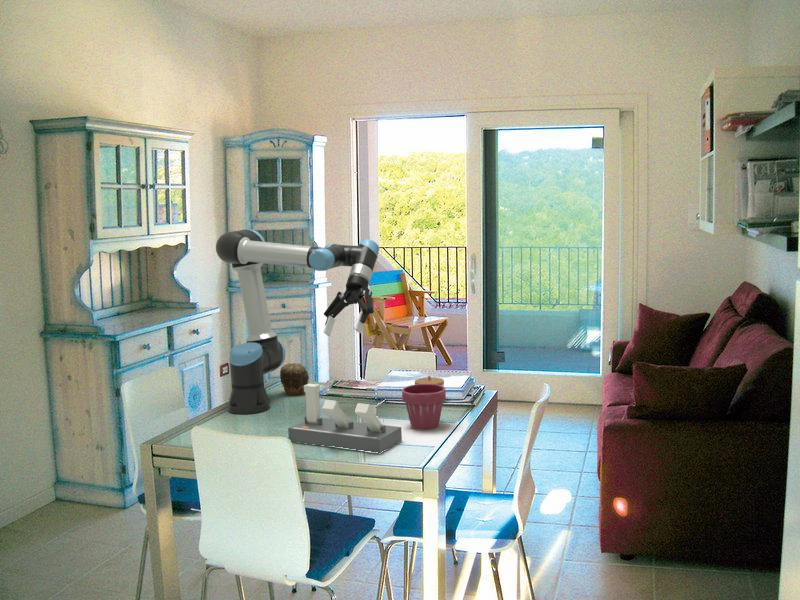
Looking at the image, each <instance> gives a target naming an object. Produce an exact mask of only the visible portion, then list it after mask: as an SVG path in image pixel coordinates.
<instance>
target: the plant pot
mask: <svg viewBox="0 0 800 600" xmlns="http://www.w3.org/2000/svg"><path fill="white" fill-rule="evenodd" d="M446 396H447V395H446V388H445V386H444V387H443V386H441V385H437V384H416V385H415V384H411V385H407V386H405V387H403V388H402V389H401V397H402V402H403V403H404V404H405V408H406V411H407V415H408V418H409V421H410V425H411V426H410V427H411V428H412V429H414V430H418V429H419V430H420V431H423V430H425V431H428V430H433V429H437V428H438V427H439V426H440V421H441V414H442V410H443V406H444V405H443V403H444V401H446V398H447V397H446Z"/></svg>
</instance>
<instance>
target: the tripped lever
mask: <svg viewBox="0 0 800 600" xmlns="http://www.w3.org/2000/svg"><path fill="white" fill-rule="evenodd" d="M320 387H321V385H320V383H319V384H317V383H308V384H307V385H304V392H305V408H306V409H305V411H306V416H307V422H308V423H317V424H318V419H319V418H321V412H320V411H321V410H320V408H321V407H320V391H321V388H320Z"/></svg>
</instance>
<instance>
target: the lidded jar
mask: <svg viewBox="0 0 800 600" xmlns="http://www.w3.org/2000/svg"><path fill="white" fill-rule="evenodd" d="M416 384H437V385H441V386H443V387H445V385H444V384H445V380H444V379H443V378H441V377H433V376H431V375H428V376H427V377H426V376H425V377H419V378H418V379H415V380H414V385H416Z"/></svg>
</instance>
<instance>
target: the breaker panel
mask: <svg viewBox="0 0 800 600" xmlns="http://www.w3.org/2000/svg"><path fill="white" fill-rule="evenodd" d="M287 431H288V433H287V434H288V440H289V439H290V440H291V441H292V442H291V443H293V442H300V443H307V444H306V445H308V444H315V445H324V446H335V447H343V448H349V449H356V450H364V451H371V452H378V453H381V452H382V451H384V450H386V449H388V448H390V447H391V446H393V445H394V446H396V445H398V444H399V443H401V442H402V441H403V436H402V433H403V432H402V426H395V425H389V424H388V425H387V424H382V431H372V430H369V428H368V427H367V426H366V424H365V423H364V422H361V421H351V420H350V422H349V427H339V426H337V424H336V423H335V422H334V420H333V419H332V418H327V417H320V418H319V419H318V424H317V423H308V422H307V415H306V416H304V420H302V421H301V422H298V423H296V424H294V425H292V426H290V427H287ZM400 441H401V442H400ZM398 442H399V443H398ZM300 443H299V444H300ZM397 443H398V444H397ZM395 444H396V445H395ZM315 445H314V446H315ZM394 446H393V447H394ZM391 448H392V447H391ZM391 448H390V449H391ZM388 450H389V449H388ZM386 451H387V450H386ZM381 454H382V453H381Z"/></svg>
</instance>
